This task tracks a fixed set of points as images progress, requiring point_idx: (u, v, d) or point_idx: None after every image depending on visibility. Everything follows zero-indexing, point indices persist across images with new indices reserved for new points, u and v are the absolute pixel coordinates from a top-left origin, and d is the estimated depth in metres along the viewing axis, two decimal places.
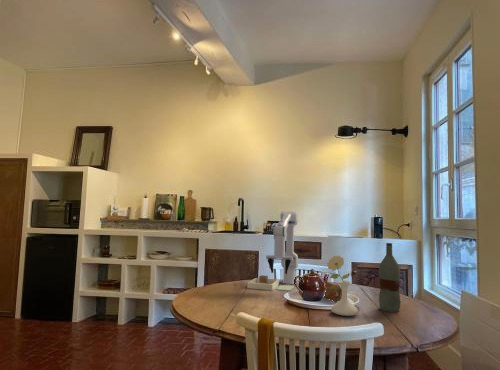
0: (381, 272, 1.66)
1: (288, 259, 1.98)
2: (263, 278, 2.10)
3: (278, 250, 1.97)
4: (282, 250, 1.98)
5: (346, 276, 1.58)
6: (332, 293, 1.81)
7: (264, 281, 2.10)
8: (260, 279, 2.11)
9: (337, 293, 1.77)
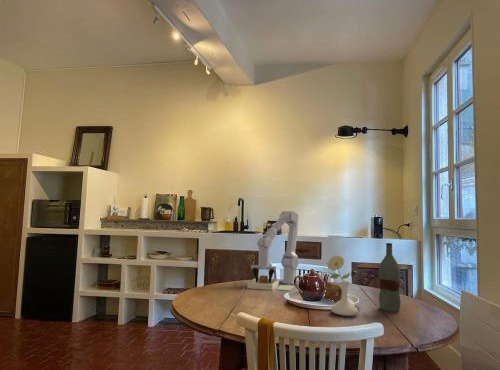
0: (381, 272, 1.66)
1: (272, 269, 2.11)
2: (263, 278, 2.10)
3: (262, 260, 2.10)
4: (266, 260, 2.11)
5: (346, 276, 1.58)
6: (332, 293, 1.81)
7: (264, 281, 2.10)
8: (260, 280, 2.11)
9: (337, 293, 1.77)
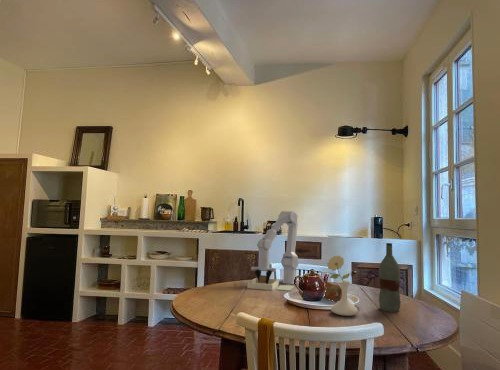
0: (381, 272, 1.66)
1: (272, 270, 2.11)
2: (263, 278, 2.10)
3: (262, 262, 2.10)
4: (266, 262, 2.11)
5: (346, 276, 1.58)
6: (332, 293, 1.81)
7: (264, 281, 2.10)
8: (260, 279, 2.11)
9: (337, 293, 1.77)
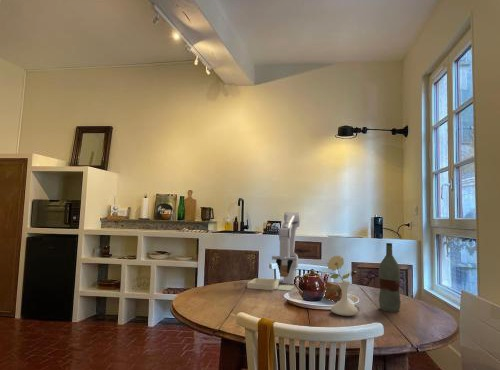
0: (381, 272, 1.66)
1: (293, 259, 2.08)
2: (284, 267, 2.07)
3: (283, 251, 2.07)
4: (287, 251, 2.08)
5: (346, 276, 1.58)
6: (332, 293, 1.81)
7: (285, 270, 2.07)
8: (280, 269, 2.08)
9: (337, 293, 1.77)
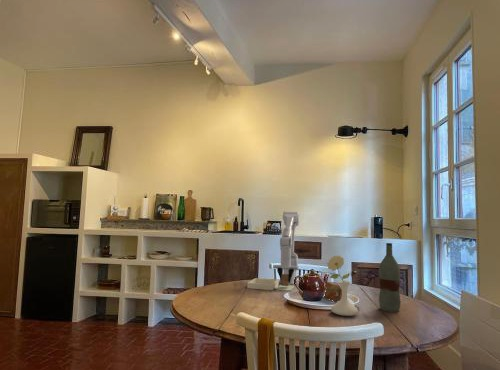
0: (381, 272, 1.66)
1: (294, 269, 2.07)
2: (285, 276, 2.06)
3: (284, 260, 2.07)
4: (288, 260, 2.07)
5: (346, 276, 1.58)
6: (332, 293, 1.81)
7: (286, 280, 2.06)
8: (282, 278, 2.07)
9: (337, 293, 1.77)
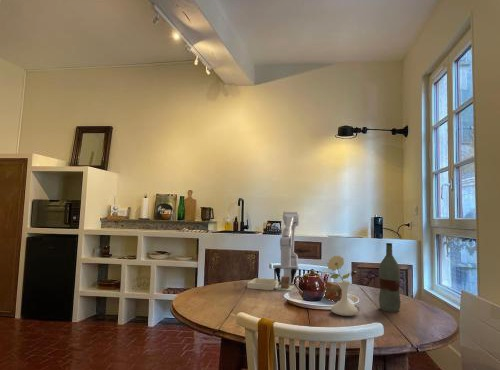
0: (381, 272, 1.66)
1: (294, 269, 2.07)
2: (285, 279, 2.06)
3: (284, 260, 2.07)
4: (288, 260, 2.07)
5: (346, 276, 1.58)
6: (332, 293, 1.81)
7: (286, 282, 2.06)
8: (281, 280, 2.07)
9: (337, 293, 1.77)
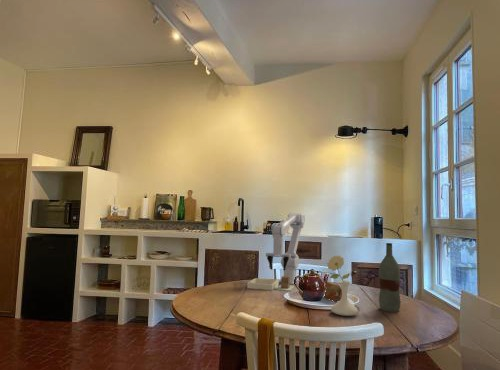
0: (381, 272, 1.66)
1: (286, 256, 2.11)
2: (285, 279, 2.06)
3: (277, 248, 2.10)
4: (280, 248, 2.11)
5: (346, 276, 1.58)
6: (332, 293, 1.81)
7: (286, 282, 2.06)
8: (281, 280, 2.07)
9: (337, 293, 1.77)
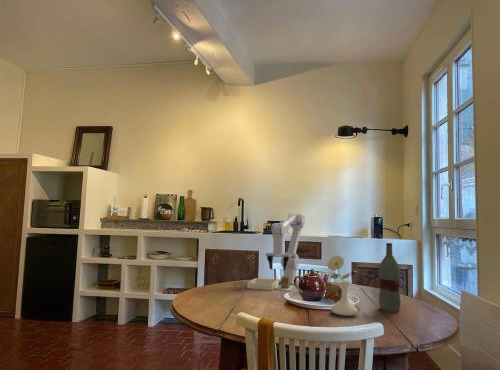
0: (381, 272, 1.66)
1: (286, 256, 2.11)
2: (285, 279, 2.06)
3: (277, 248, 2.10)
4: (280, 248, 2.11)
5: (346, 276, 1.58)
6: (332, 293, 1.81)
7: (286, 282, 2.06)
8: (281, 280, 2.07)
9: (337, 293, 1.77)
